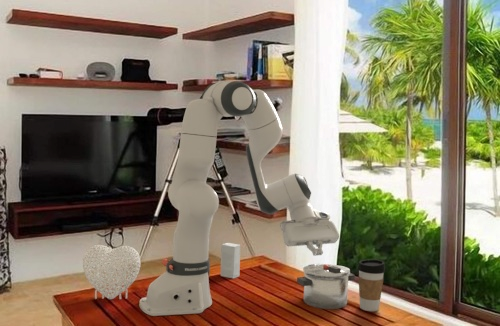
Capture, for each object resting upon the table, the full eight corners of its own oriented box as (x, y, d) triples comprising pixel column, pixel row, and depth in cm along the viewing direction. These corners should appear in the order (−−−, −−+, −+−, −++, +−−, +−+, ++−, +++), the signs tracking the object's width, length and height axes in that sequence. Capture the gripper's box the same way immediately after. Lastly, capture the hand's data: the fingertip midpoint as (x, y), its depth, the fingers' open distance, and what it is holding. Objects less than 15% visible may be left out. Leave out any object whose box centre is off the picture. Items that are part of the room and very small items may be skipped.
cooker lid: (319, 279, 155) (319, 271, 155) (293, 269, 170) (293, 262, 170) (359, 275, 162) (359, 267, 162) (331, 265, 176) (331, 258, 176)
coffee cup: (385, 313, 157) (388, 265, 156) (358, 312, 157) (360, 264, 156) (379, 303, 165) (382, 258, 164) (353, 302, 166) (355, 257, 164)
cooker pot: (310, 312, 156) (312, 283, 155) (288, 297, 168) (289, 271, 168) (362, 304, 164) (364, 277, 163) (337, 291, 177) (339, 265, 176)
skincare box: (239, 276, 190) (240, 244, 189) (233, 279, 186) (234, 246, 185) (226, 273, 193) (227, 242, 192) (219, 275, 189) (220, 244, 188)
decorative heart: (143, 294, 167) (144, 242, 166) (135, 305, 156) (136, 250, 155) (88, 292, 167) (88, 240, 165) (77, 303, 156) (77, 248, 155)
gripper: (281, 215, 171) (294, 251, 163) (333, 213, 179) (347, 247, 171) (275, 226, 175) (287, 261, 167) (325, 223, 184) (339, 257, 176)
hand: (318, 254), depth 169 cm, fingers closed
